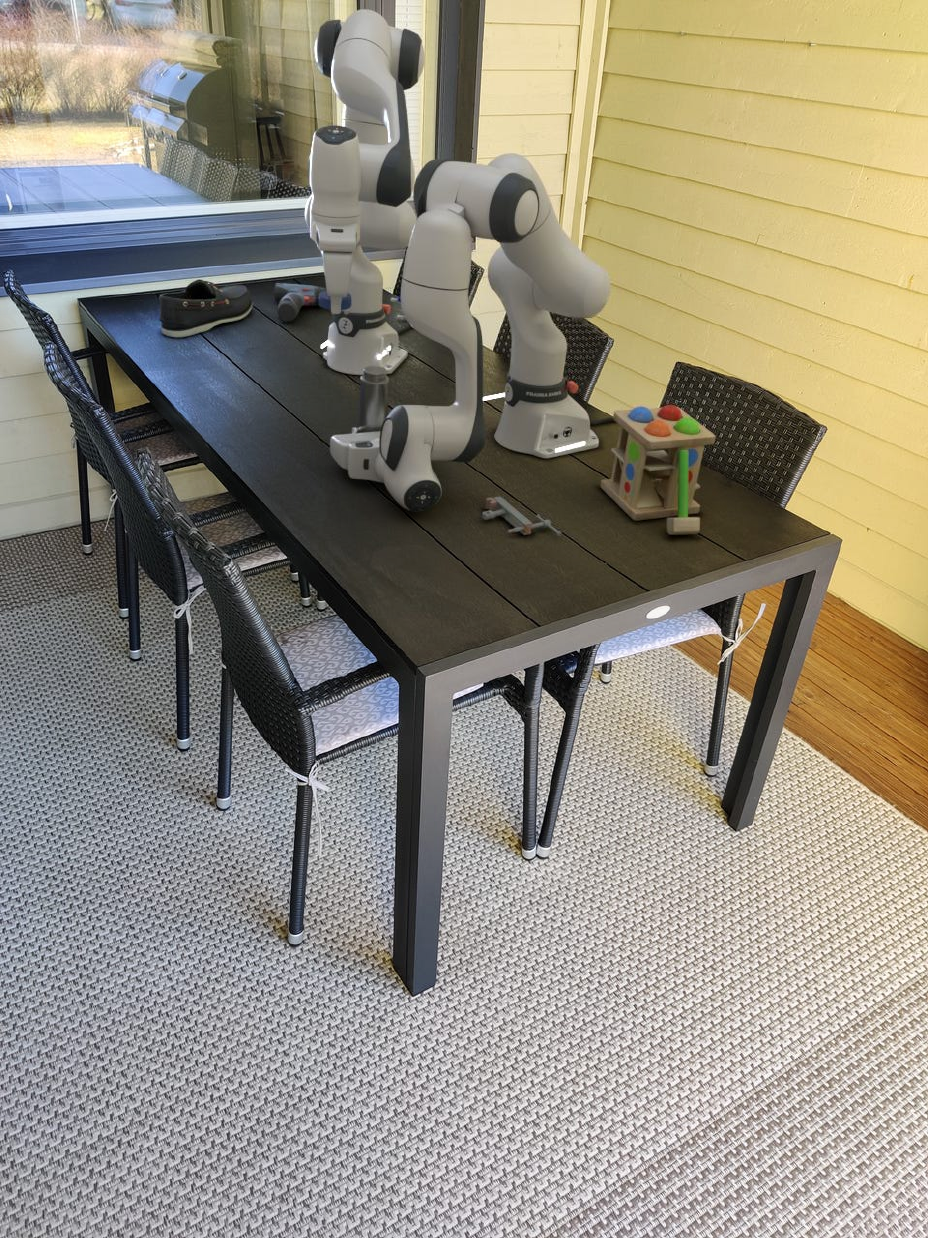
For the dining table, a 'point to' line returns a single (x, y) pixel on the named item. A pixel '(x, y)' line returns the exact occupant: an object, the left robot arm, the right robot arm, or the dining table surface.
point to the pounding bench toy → (658, 466)
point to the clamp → (513, 516)
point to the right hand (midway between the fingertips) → (371, 429)
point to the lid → (326, 301)
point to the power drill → (295, 298)
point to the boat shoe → (202, 307)
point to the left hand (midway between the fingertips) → (334, 306)
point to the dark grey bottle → (373, 398)
